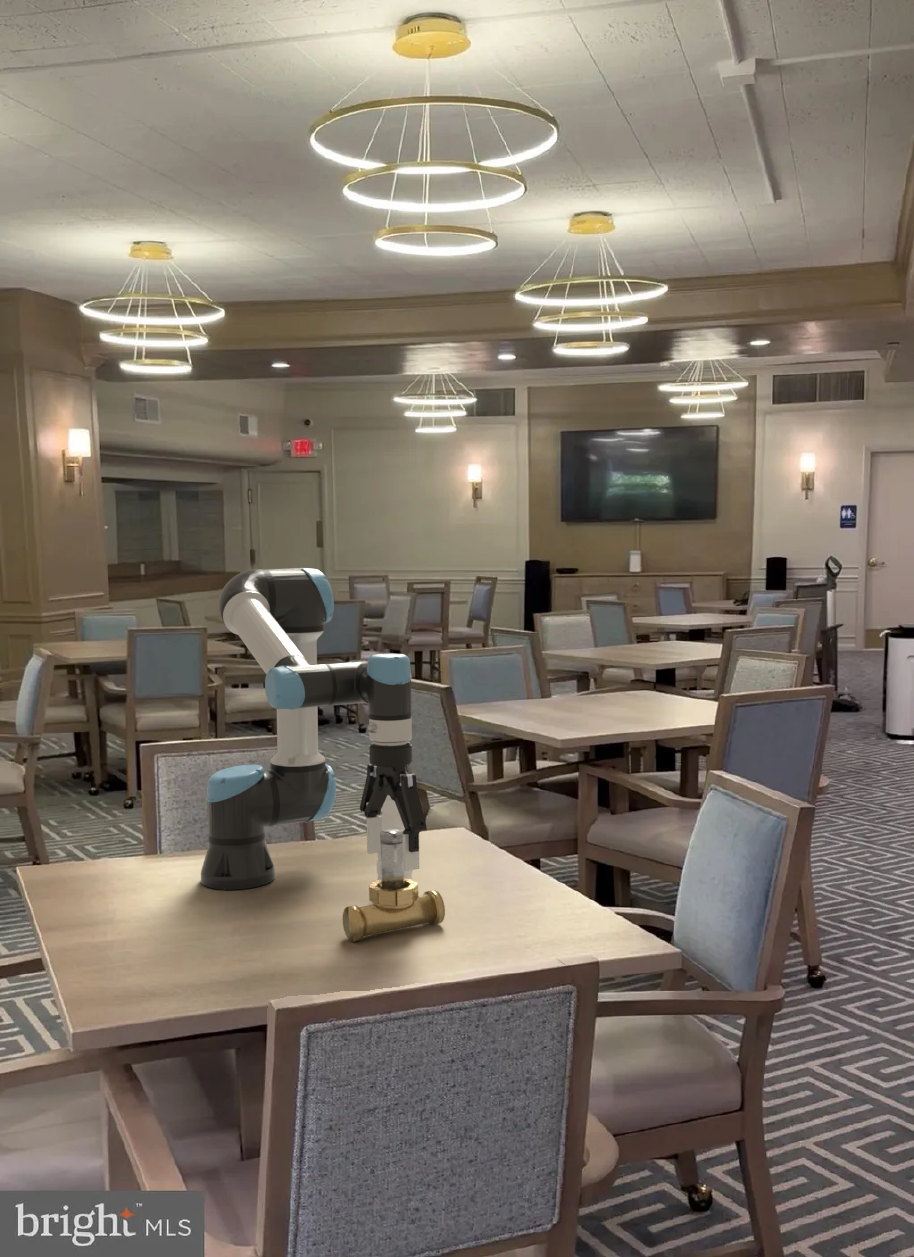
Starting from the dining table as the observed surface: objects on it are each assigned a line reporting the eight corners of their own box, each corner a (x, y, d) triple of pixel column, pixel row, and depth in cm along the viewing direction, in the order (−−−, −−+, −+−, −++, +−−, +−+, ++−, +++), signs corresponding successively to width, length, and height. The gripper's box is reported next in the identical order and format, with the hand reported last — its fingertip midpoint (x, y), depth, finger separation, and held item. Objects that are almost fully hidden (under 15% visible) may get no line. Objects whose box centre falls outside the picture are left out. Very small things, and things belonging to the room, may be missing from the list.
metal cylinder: (377, 898, 202) (375, 831, 201) (398, 894, 204) (396, 828, 204) (388, 903, 199) (386, 835, 198) (409, 899, 201) (407, 832, 200)
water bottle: (408, 900, 220) (405, 773, 219) (373, 899, 222) (370, 772, 220) (416, 890, 227) (414, 766, 226) (382, 888, 229) (379, 765, 227)
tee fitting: (361, 947, 194) (360, 898, 193) (340, 934, 201) (339, 887, 200) (448, 929, 203) (447, 882, 202) (425, 917, 210) (424, 871, 209)
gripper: (340, 735, 208) (342, 848, 210) (406, 754, 187) (408, 880, 189) (376, 731, 212) (378, 843, 214) (445, 749, 191) (447, 873, 193)
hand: (392, 861), depth 201 cm, fingers open, 13 cm apart
